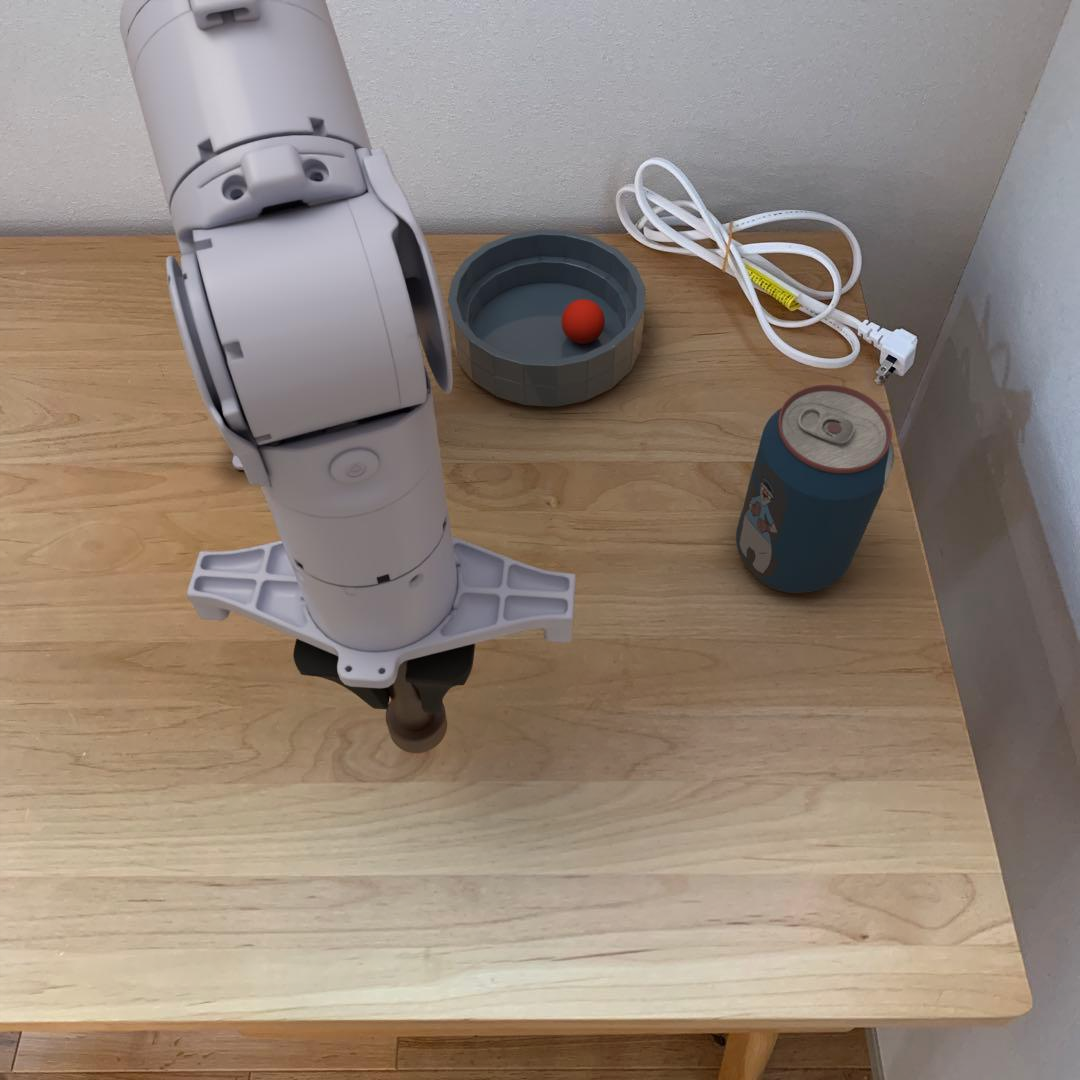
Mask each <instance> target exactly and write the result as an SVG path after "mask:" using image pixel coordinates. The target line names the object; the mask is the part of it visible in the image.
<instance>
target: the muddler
mask: <svg viewBox="0 0 1080 1080" xmlns="http://www.w3.org/2000/svg"><path fill="white" fill-rule="evenodd" d="M407 663H408V660H407V661H404V662H403V663H402V664H400V666H399V668H398V673H397V678H396V680H395V682H394V683H393V684H392V685H390V686H389V687H387V688H388V691H389V695H390V698H389V699H390V700H389V704H388V710H387V709H385V710H386V711H385V723H386V726H387V730H388V732H389V735H390V738H391V740H392V742H393V744H394V745H395V746H396V747H398V748H399V749H400V750H402V751H404V752H407V753H409V754H410V753H411V754H423V753H426V752H429V751H431V750H433V749H435V748H436V747H437V746H438V745H439V744H440V743H441V742H442V741H444V740H443V739H445V737H446V734H447V730H448V718H447V717H448V716H447V713H446V712H447V711H446V708H445V704H444V702H443V701H442V708H441V711H440V712H439V713H431V712H424V711H423V709H422V705H421V697H420V692H419V690H418V688H417V687H416V686H415V684H413V683H409V682H406V679H405V675H406V669H407Z"/></svg>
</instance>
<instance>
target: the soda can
mask: <svg viewBox="0 0 1080 1080" xmlns="http://www.w3.org/2000/svg"><path fill="white" fill-rule="evenodd" d="M892 433H893V431H892V425H891V422H890V420H889V417H888V416H887V413H886V412H885V411H884V410H883V408H882V407H881V406H880V405H879V404H878V402H876V401H875V400H874V399H873V398H872V397H870V396H868V395H867V394H864V393H863V392H861V391H858V390H856V389H854V388H850V387H846V386H843V385H836V384H819V385H812V386H809V387H805V388H802V389H800V390H798V391H796V392H794V394H792V395H791V396H790V397H788V398H787V400H786V401H785V402H784V403H783V405H782V407H780V408H778V409H777V410H776V411H775V412H774V413H773V414H772V415H771V416H770V418H768V420H767V422H766V423H765V425H764V427H763V430H762V433H761V437H760V440H759V445H758V448H757V452H756V457H755V460H754V463H753V467H752V470H751V474H750V479H749V482H748V485H747V489H746V493H745V496H744V500H743V504H742V508H741V511H740V514H739V515H740V516H739V519H738V523H737V527H736V530H735V531H736V532H735V541H736V549H737V551H738V553H739V556H740V558H741V560H742V562H743V563H744V566H746V568H747V569H748V570H749V571H750V572H751V574H752V575H753V576H755V578H757V579H758V580H759V581H760V582H761V583H763V584H764V585H766V586H768V587H770V588H771V589H773V590H776V591H779V592H783V593H788V594H803V593H804V594H805V593H812V592H816V591H820V590H822V589H825V588H829V587H830V586H831V585H833V584H835V583H836V582H838V581H839V580H840V579H842V577H843V576H844V575H845V574H846V573H847V571H848V570H849V568H850V566H851V564H852V562H853V559H854V557H855V555H856V553H857V550H858V548H859V546H860V543H861V541H862V539H863V538H864V534H865V532H866V531H867V528H868V525H869V524H870V521H871V519H872V516H873V514H874V513H875V510H876V507H877V505H878V503H879V500H880V499H881V496H882V494H883V491H884V489H885V487H886V485H887V483H888V480H889V478H890V475H891V474H892V471H893V468H894V463H895V449H894V445H893V441H892V436H893V434H892Z"/></svg>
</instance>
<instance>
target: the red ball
mask: <svg viewBox="0 0 1080 1080" xmlns="http://www.w3.org/2000/svg"><path fill="white" fill-rule="evenodd" d="M561 323H562V329H563V331H564V333H565V335H566V336H567V337H568V338H569V339H570V340H572V341H574V342H576V343H580V344H586V343H590V342H592V341H594V340H596V339H597V338H598V337H599V336H600V335H601V333H602V331H603V329H604V325H605V318H604V314H603V311H602V310H601V308H600V307H599V306H598V305H597V304H596V303H594V302H593V301H590V300H585V299H581V300H576V301H574V302H572V303H571V304H569V305H568V306H567V308H566V309H565V310H564V312H563V315H562V320H561Z"/></svg>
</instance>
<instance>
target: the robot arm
mask: <svg viewBox="0 0 1080 1080" xmlns="http://www.w3.org/2000/svg"><path fill="white" fill-rule="evenodd" d="M119 30H120V35H121V39H122V42H123V46H124V49H125V53H126V56H127V61H128V65H129V70H130V72H131V76H132V80H133V84H134V87H135V91H136V94H137V95H136V96H137V99H138V102H139V106H140V109H141V113H142V117H143V120H144V124H145V127H146V132H147V136H148V138H149V142H150V146H151V148H152V149H151V150H152V154H153V157H154V161H155V164H156V167H157V171H158V176H159V179H160V182H161V186H162V190H163V194H164V198H165V200H166V205H167V208H168V212H169V217H170V218H171V223H172V226H173V230H174V234H175V237H176V240H177V243H178V248H179V251H180V255H181V257H180V264H179V261H177V258H176V257H174V256H173V255H168V256H167V257H166V259H165V264H166V265H165V266H166V279H167V288H168V293H169V297H170V303H171V306H172V311H173V315H174V318H175V322H176V326H177V330H178V333H179V337H180V340H181V343H182V346H183V350H184V352H185V355H186V359H187V361H188V365H189V368H190V370H191V371H190V372H191V373H192V377H193V379H194V382H195V385H196V387H197V390H198V392H199V395H200V398H201V400H202V402H203V404H204V407H205V409H206V411H207V413H208V415H209V416H210V418H211V420H212V422H213V423H214V425H215V427H216V428H217V430H218V431H219V433H220V435H221V437H222V438H223V440H224V442H225V443H226V445H227V447H228V448H229V450H230V451H231V453H232V454H233V457H232V460H231V462H232V466H233V468H234V469H236V470H239V471H244V474H245V476H246V479H247V481H248V484H249V485H250V486H256V485H258V486H259V487H260V489H261V491H262V494H263V496H264V499H265V501H266V504H267V506H268V509H269V512H270V515H271V517H272V519H273V522H274V525H275V527H276V530H277V532H278V536H279V538H280V540H277V541H273V542H268V543H264V544H260V545H255V546H251V547H246V548H240V549H233V550H222V551H221V550H219V551H217V550H212V551H211V550H206V551H205V550H201V551H199V553H198V556H197V558H196V562H195V566H194V568H193V572H192V574H191V577H190V581H189V584H188V587H187V591H186V596H187V598H188V599H189V601H190V603H191V605H192V606H193V608H194V611H195V612H196V614H197V615H198V617H199V619H200V620H205V621H206V620H207V621H225V620H226V619H227V618H228V617H229V616H230V612H231V613H235V614H238V615H239V616H242V617H245V618H247V619H249V620H252V621H254V622H256V623H259V624H261V625H264V626H266V627H268V628H271V629H273V630H276V631H277V632H280V633H283V634H285V635H287V636H289V637H292V638H295V644H294V647H293V655H292V657H293V662H294V664H295V666H296V668H297V670H298V672H299V674H300V675H301V676H308V677H318V678H321V679H325V680H328V681H330V682H333V683H336V684H337V685H340V686H342V687H344V688H345V689H347V690H348V691H350V692H351V693H353V694H354V695H356V696H357V697H358V698H360V700H362V701H363V702H364V703H366V705H368V706H369V707H371V708H372V709H375V710H388V705H389V703H390V699H391V698H390V695H389V691H388V688H387V687H389V686H390V685H392V684H393V683H394V682H395V680H396V678H397V673H398V668H399V666H400V664H402V663H403V662H404V661H407V660H408V663H407V669H406V675H405V679H406V682H409V683H413V684H415V686H416V687H417V688H418V690H419V692H420V697H421V705H422V709H423V711H424V712H431V713H439V712H440V711H441V708H442V702H443V700H444V697H445V696H446V694H447V693H448V692H449V690H452V688H454V687H457V686H464V685H466V683H467V681H468V679H469V677H470V675H471V673H472V669H473V665H474V659H475V658H474V657H475V650H476V644H479V643H482V642H486V641H491V640H494V639H498V638H502V637H506V636H510V635H514V634H518V633H523V632H528V631H533V630H541V629H542V630H543V638H544V639H545V640H546V641H547V642H550V643H562V644H563V643H565V644H570V643H572V642H573V631H574V630H573V629H574V628H573V627H574V616H575V615H574V614H575V598H576V597H575V596H576V574H575V573H569V572H568V573H567V572H561V571H552V570H547V569H543V568H539V567H537V566H533V565H530V564H527V563H524V562H521V561H519V560H516V559H514V558H511V557H508V556H506V555H504V554H500V553H498V552H495V551H492V550H490V549H488V548H485V547H482V546H479V545H477V544H475V543H471V542H469V541H466V540H464V539H461V538H458V537H456V536H453V534H452V529H451V521H450V514H449V506H448V501H447V493H446V486H445V479H444V478H445V477H444V472H443V464H442V458H441V451H440V444H439V443H440V442H439V436H438V435H439V434H438V426H437V419H436V412H435V405H434V398H433V390H432V383H431V378H430V376H429V373H428V369H427V367H426V366H425V364H424V358H423V357H424V356H423V352H424V355H425V358H426V361H427V363H428V366H429V369H430V371H431V373H432V375H433V378H434V379H435V382H436V383H437V385H438V387H439V388H440V390H441V391H442V392H443V393H445V394H451V392H452V390H453V384H454V382H453V381H454V379H453V376H454V374H453V361H452V360H453V359H452V358H453V357H452V343H451V342H452V340H451V333H450V326H449V319H448V316H447V315H448V314H447V311H446V306H445V301H444V297H443V293H442V292H443V291H442V288H441V284H440V279H439V277H438V273H437V270H436V267H435V263H434V259H433V256H432V253H431V250H430V247H429V245H428V242H427V240H426V237H425V234H424V232H423V230H422V228H421V225H420V223H419V221H418V219H417V216H416V215H415V213H414V210H413V208H412V206H411V204H410V202H409V199H408V197H407V195H406V193H405V191H404V189H403V187H402V186H401V184H400V183H399V182H398V180H397V177H396V176H395V173H394V171H393V169H392V166H391V163H390V160H389V157H388V154H387V153H386V151H385V148H384V147H377V148H373V147H372V143H371V140H370V137H369V133H368V131H367V127H366V124H365V121H364V118H363V115H362V112H361V108H360V106H359V102H358V99H357V95H356V93H355V89H354V85H353V83H352V80H351V77H350V74H349V70H348V67H347V64H346V60H345V58H344V53H343V51H342V48H341V45H340V42H339V38H338V35H337V32H336V29H335V26H334V23H333V19H332V17H331V13H330V11H329V7H328V4H327V0H123V1H122V4H121V9H120V14H119ZM421 346H422V347H421ZM422 350H423V352H422Z"/></svg>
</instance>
